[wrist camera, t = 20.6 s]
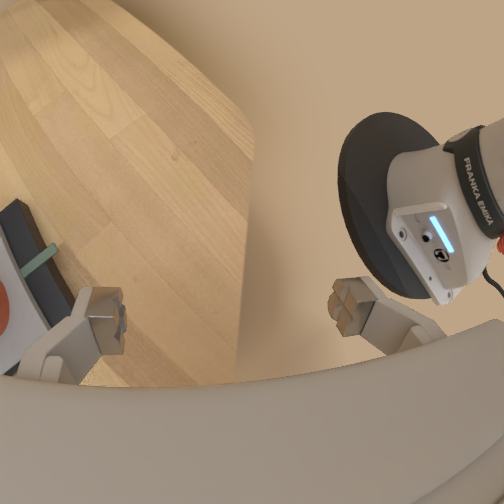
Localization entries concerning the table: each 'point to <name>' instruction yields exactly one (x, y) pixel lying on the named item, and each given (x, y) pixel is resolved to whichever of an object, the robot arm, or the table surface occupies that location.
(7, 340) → the scale
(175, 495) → the robot arm
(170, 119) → the table surface
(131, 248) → the table surface
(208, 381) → the table surface
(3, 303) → the jar
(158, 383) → the table surface
